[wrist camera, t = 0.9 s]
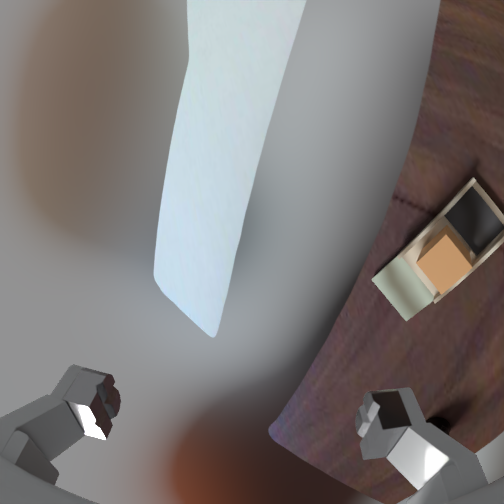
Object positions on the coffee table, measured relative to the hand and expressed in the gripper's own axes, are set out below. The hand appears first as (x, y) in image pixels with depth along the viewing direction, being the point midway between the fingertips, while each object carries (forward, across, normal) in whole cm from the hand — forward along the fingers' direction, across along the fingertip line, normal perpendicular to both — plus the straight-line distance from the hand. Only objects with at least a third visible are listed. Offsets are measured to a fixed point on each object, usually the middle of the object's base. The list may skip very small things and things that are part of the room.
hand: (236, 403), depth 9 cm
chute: (+34, -30, +8) cm, 46 cm away
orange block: (+33, -30, +7) cm, 45 cm away
